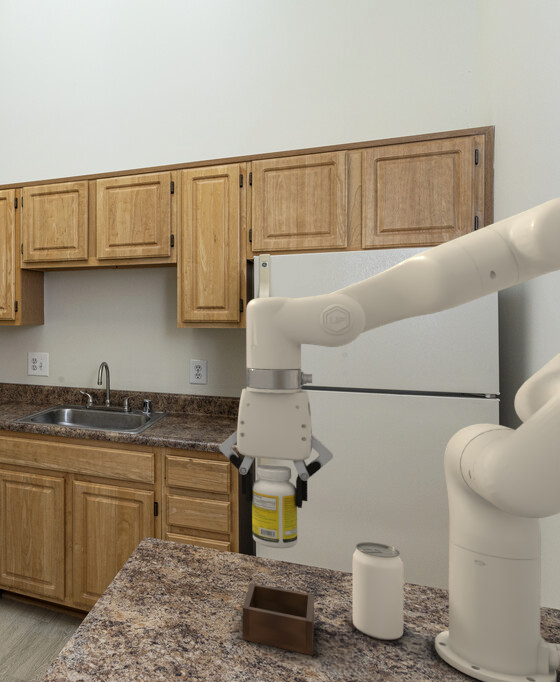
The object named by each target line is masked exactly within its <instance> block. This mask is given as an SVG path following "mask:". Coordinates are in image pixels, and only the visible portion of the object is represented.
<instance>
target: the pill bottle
mask: <svg viewBox="0 0 560 682" xmlns="http://www.w3.org/2000/svg"><path fill="white" fill-rule="evenodd" d="M256 475H257V476H256V477H257V478H258V479H257V480H255V481H253V485H252V501H251V516H252V517H251V520H252V521H251V522H252V523H251V525H252V539H253V540H254V541H255V542H256V543H257V544H258V545H261V546H263V547H267V548H272V549H290V548H293V547H295V546H296V545H297V544H298V507H296V485H295V484H293V483H292V482H291V481H290V480H291V479H292V469H291V467H289V466H287V465H283V464H275V463H274V464H273V463H267V464H266V463H265V464H258V465H257V466H256Z"/></svg>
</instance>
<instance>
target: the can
mask: <svg viewBox="0 0 560 682" xmlns="http://www.w3.org/2000/svg"><path fill="white" fill-rule="evenodd" d="M355 548H356V549H355V550H354V552H353V554H352V624H353V626H354V627H355V629H356V630H357V631H359V632H360V633H361V634H363V635H365V636H368V637H370V638H373V639H376V640H382V641H395V640H398V639H400V638H401V637H402V636H403V635H404V562H403V560H402V558H401V556H400V554H401V552H400V550H399V549H397V548H395V547H393V546H391V545H388V544H386V543H385V544H384V543H379V542H370V541H363V542H362V541H361V542H359V543H356V545H355Z"/></svg>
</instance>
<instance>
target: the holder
mask: <svg viewBox="0 0 560 682" xmlns="http://www.w3.org/2000/svg"><path fill="white" fill-rule="evenodd" d="M314 631H315V594H313V593H308V592H302V591H297V590H292V589H287V588H281V587H275V586H269V585H264V584H259V583H255V582H254V583H253V582H250V583H249V585H248V589H247V591H246V595H245V598H244V602H243V605H242V640H243V641H246V642H247V641H248V642H253V643H257V644H260V645H261V644H262V645H266V646H269V647H275V648H277V649H283V650H288V651H291V652H297V653H300V654H305V655H310V656H313V655H314V635H315V634H314Z"/></svg>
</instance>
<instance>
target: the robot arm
mask: <svg viewBox="0 0 560 682" xmlns="http://www.w3.org/2000/svg"><path fill="white" fill-rule="evenodd" d="M556 271H560V197H555V198H552V199H550V200H548V201H545V202H543V203H542V204H541V203H540V204H538V205H536V206H533V207H531V208H529V209H527V210H524V211H521V212H518V213H516V214H514V215H511V216H509V217H507V218H503V219H501V220H499V221H496V222H494V223H492V224H489V225H486V226H484V227H480V228H478V229H476V230H474V231H472V232H469V233H467V234H464V235H461V236H459V237H456V238H454V239H452V240H449V241H445V242H443V243H441V244H439V245H435V246H434V247H430V248H429V249H426V250H424V251H420V252H419V253H417V254H414V255H412V256H409V257H408V258H406V259H404V260H402V261H400V262H399V263H397V264H395V265H394V266H391V267H389V268H387V269H385V270H383V271H381V272H379V273H377V274H374V275H372V276H369V277H367V278H364V279H362V280H360V281H357V282H355V283H352V284H350V285H347V286H345V287H343V288H340V289H337V290H335V291H332V292H330V293H324V294H318V295H311V296H303V297H295V298H294V297H289V296H264V297H258V298H253V299H251V300H250V301H249V302H248V303H247V305H246V308H245V309H246V311H245V323H246V324H245V325H246V326H245V327H246V329H245V331H246V333H245V335H246V338H245V341H246V349H245V351H246V353H245V354H246V388H242V390H241V394H240V399H239V405H238V415H237V426H236V427H237V428H236V429H237V430H235V431H234V432H233V433H232V434H231V435H230V436H228V438H226V439H225V440H224V441H223V442H222V443H221V444H220V445H218V449H219V451H220V452H221V453H222V454H223V455H224V456H225V457H226V458H227V459H228V461H229V462H230V463H231V464H232V466H234V467H235V468H236V469H237V470H238V472H239V474H240V475H241V495H245V502H246V503H250V502H252V485H253V483H254V472H253V470H252V468H251V466H252V464H253V463H254V460H255V459H256V458H258V459H269V460H282V461H292V463H293V465H294V467H295V469H296V471H297V476H296V478H295V487H296V507H297V509H302V508H303V502H308V480H309V479H310V478H311V477H312V476H314V475H315V474H316V473H318V472H319V470H321V468H322V467H323V466H325V465H326V464H328V463H329V462H330V461H332V459H333V458H334V454H333V452H332V451H331V450H330V449H329V448H327V446H326V445H325V444H323V442H321V441H320V440H319V439H318V438H317V437H316V436H315V435H314V434H313V430H312V429H313V428H312V427H313V426H312V414H311V413H312V412H311V405H310V398H309V394H308V391H307V390H304V389H302V387H303V386H304V385H307V384H313V374H312V373H307V372H304V371H302V345H312V346H319V347H320V346H321V347H326V348H340V347H343V346H346V345H348V344H351V343H352V342H354V341H355V340H357V339H358V338H359V337H360V336H361V334H363V333H366V332H369V331H372V330H374V329H377V328H380V327H383V326H386V325H389V324H392V323H395V322H399V321H402V320H406V319H407V320H408V319H410V318H415V317H421V316H427V315H432V314H436V313H441V312H443V311H447V310H451V309H454V308H456V307H460V306H462V305H464V304H467V303H470V302H473V301H475V300H478V299H481V298H483V297H486V296H488V295H491V294H494V293H497V292H499V291H502V290H505V289H508V288H511V287H513V286H516V285H519V284H522V283H525V282H528V281H530V280H533V279H535V278H538V277H542V276H544V275H547V274H550V273H553V272H556ZM513 405H514V410H515V413H516V415H517V417H518V418H519V420H520V421H521V422H522V424H520V425H519V426H518V427H517V428H516V429H514V428H511V427H507V426H505V425H501V424H495V423H475V424H471V425H468V426H465V427H463V428H460V429H459V430H458V431H457V432H456V433H454V434H453V435H452V436H451V437H450V439H449V440H448V442H447V444H446V446H445V449H444V455H443V471H444V478H445V479H444V480H445V486H446V493H447V502H448V630H444V631H441V632H439V633H438V634H437V635H436V636H435V638H434V648H435V651H436V653H437V655H438V656H439V657H440V658H441V659H442V660H443V661H445V662H446V663H447V664H448V665H449V666H451V667H453V668H454V669H456V670H457V671H459V672H461V673H463V674H465V675H467V676H469V677H471V678H473V679H477V680H478V681H481V682H557V678H558V677H557V676H558V675H557V670H556V669H559V667H560V643H552V642H548V641H546V640H545V639H544V638H543V637H542V636H541V582H542V581H541V578H542V577H541V573H542V571H541V569H542V568H541V567H542V566H541V565H542V564H541V563H542V561H541V559H542V557H541V556H542V534H541V532H542V531H541V524H540V523H541V522H540V519H545V518H548V517H552V516H556V515H558V514H560V352H559V353H557V354H556V355H555V356H554V357H552V358H551V359H550V360H549V361H548V362H546V364H544V365H543V366H542V367H541V368H540V369H538V370H537V371H536V372H535V373H534V374H532V375H531V376H530V377H529V378H528V379H526V380H525V381H524V383H523V384H522V385H521V386H520V387H519V388H518V390H517V392H516V394H515V397H514V404H513ZM235 444H236V447H237V452H238V453H239V454H241V455H242V456H244V457H243V458H242V457H241V456H240V455H239V454H238V453H236V452H235V451H234V449H233V446H234V445H235ZM312 450H314V451H315V452H317V454H318V456H317V457H316V458H315V459H313V460H312V461H311V462H309V463H308V464H307V462H306V460H308V459H309V458H310V457H311V453H312Z"/></svg>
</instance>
